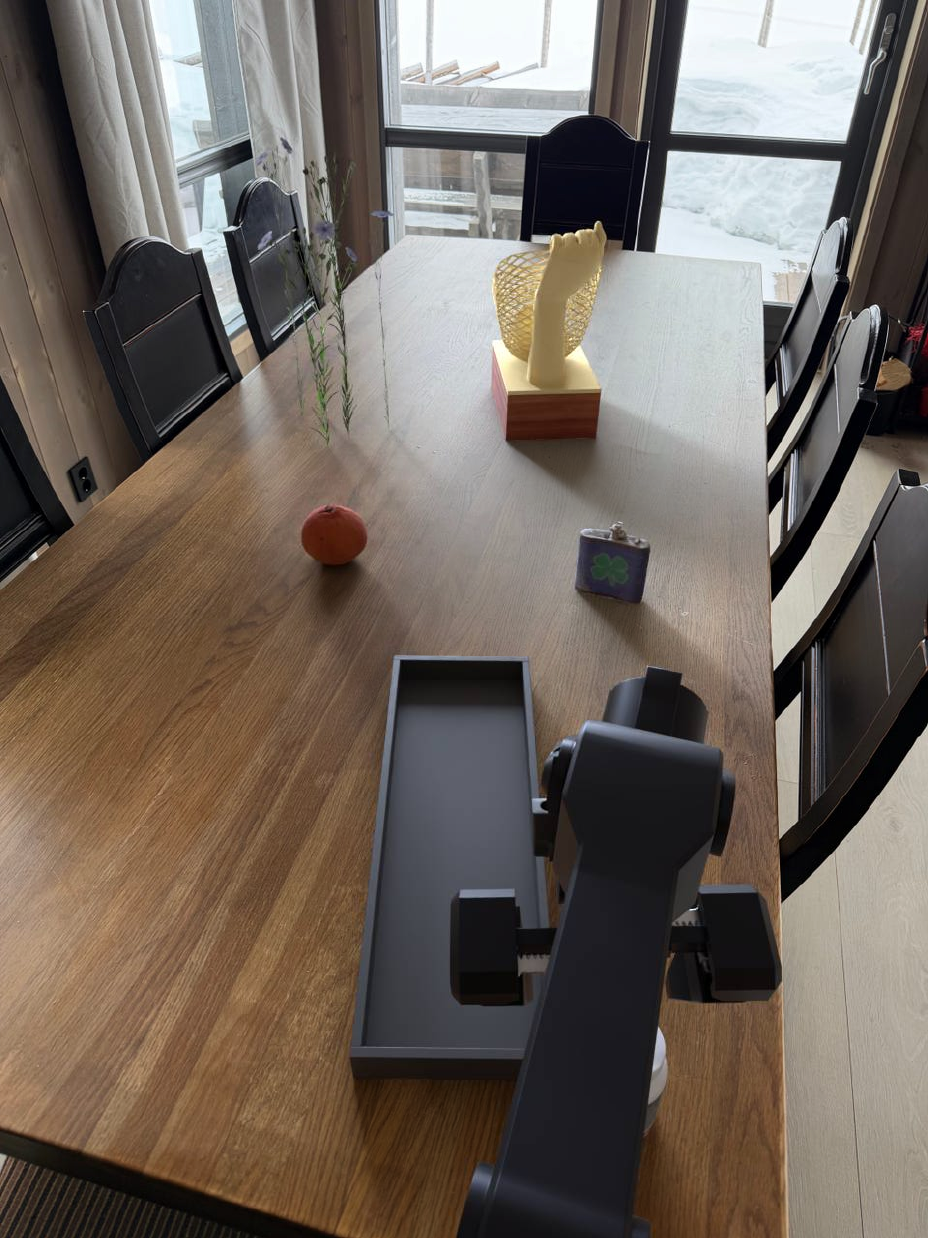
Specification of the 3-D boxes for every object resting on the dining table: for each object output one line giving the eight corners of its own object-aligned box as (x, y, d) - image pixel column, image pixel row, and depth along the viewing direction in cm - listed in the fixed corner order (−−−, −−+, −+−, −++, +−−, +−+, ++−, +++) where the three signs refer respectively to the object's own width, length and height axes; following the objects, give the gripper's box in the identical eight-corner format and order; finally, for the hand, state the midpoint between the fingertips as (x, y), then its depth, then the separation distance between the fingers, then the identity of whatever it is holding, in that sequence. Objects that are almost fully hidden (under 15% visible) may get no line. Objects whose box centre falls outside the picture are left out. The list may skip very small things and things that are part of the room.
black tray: (556, 1081, 66) (560, 1060, 64) (352, 1079, 66) (349, 1057, 64) (527, 679, 102) (529, 656, 100) (395, 677, 102) (393, 655, 100)
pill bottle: (651, 1071, 67) (671, 1006, 60) (657, 1153, 62) (679, 1091, 56) (576, 1064, 67) (589, 998, 61) (577, 1144, 63) (590, 1082, 56)
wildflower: (423, 439, 150) (417, 148, 122) (300, 470, 141) (262, 164, 113) (368, 392, 165) (351, 124, 137) (253, 418, 156) (210, 136, 128)
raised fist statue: (600, 442, 150) (626, 227, 128) (497, 446, 148) (505, 229, 127) (574, 384, 169) (592, 189, 147) (483, 386, 168) (487, 190, 146)
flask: (571, 591, 116) (579, 522, 109) (577, 579, 118) (585, 511, 111) (639, 607, 113) (651, 538, 106) (644, 595, 115) (656, 526, 108)
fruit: (291, 565, 120) (284, 516, 115) (327, 535, 126) (322, 486, 121) (345, 583, 116) (340, 533, 112) (379, 550, 123) (376, 501, 118)
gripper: (764, 755, 50) (717, 874, 62) (445, 762, 51) (458, 879, 63) (815, 945, 43) (751, 1040, 55) (442, 951, 44) (457, 1043, 55)
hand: (599, 991), depth 57 cm, fingers open, 9 cm apart
